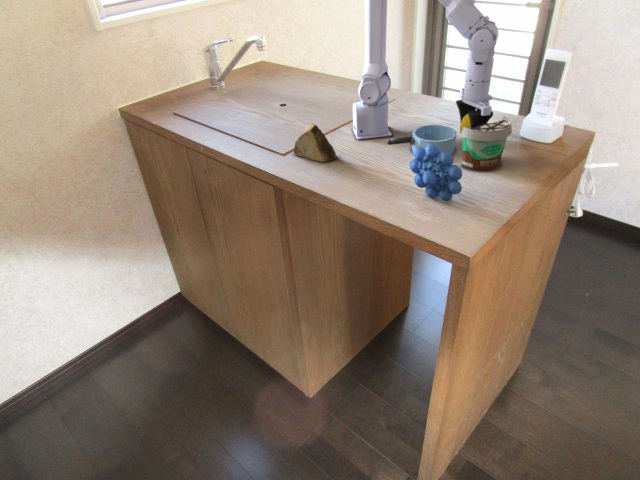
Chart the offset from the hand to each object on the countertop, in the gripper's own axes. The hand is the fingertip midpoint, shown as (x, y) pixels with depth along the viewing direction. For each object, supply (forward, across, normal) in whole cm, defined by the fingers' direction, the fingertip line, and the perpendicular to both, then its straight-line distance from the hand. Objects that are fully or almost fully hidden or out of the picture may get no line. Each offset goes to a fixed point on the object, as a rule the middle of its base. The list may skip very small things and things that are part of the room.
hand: (470, 133), depth 114 cm
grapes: (+3, -26, +18) cm, 31 cm away
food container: (+3, -14, +1) cm, 14 cm away
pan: (+2, -2, +10) cm, 11 cm away
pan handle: (0, -2, +19) cm, 19 cm away
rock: (+3, +2, +40) cm, 40 cm away
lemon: (+3, 0, 0) cm, 3 cm away
